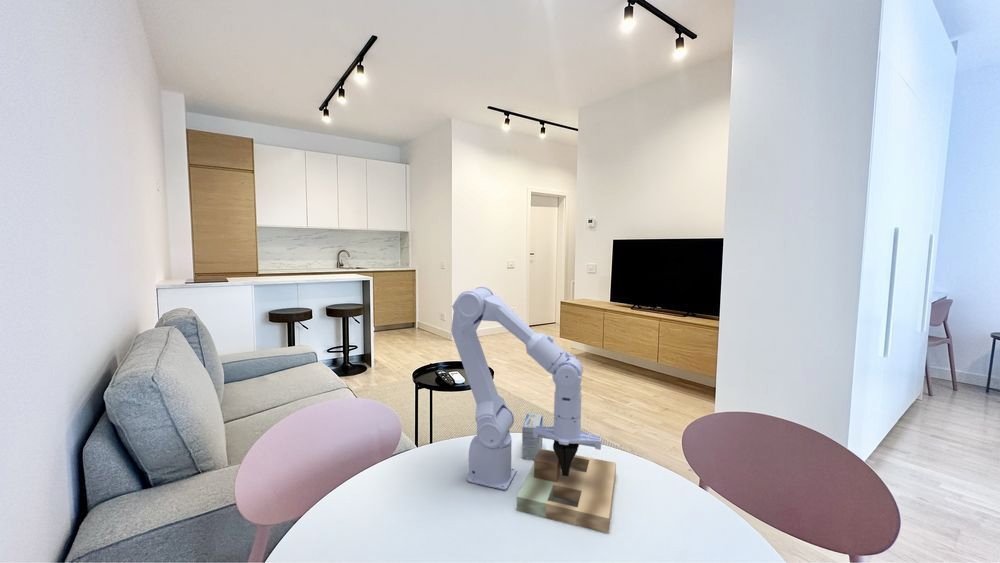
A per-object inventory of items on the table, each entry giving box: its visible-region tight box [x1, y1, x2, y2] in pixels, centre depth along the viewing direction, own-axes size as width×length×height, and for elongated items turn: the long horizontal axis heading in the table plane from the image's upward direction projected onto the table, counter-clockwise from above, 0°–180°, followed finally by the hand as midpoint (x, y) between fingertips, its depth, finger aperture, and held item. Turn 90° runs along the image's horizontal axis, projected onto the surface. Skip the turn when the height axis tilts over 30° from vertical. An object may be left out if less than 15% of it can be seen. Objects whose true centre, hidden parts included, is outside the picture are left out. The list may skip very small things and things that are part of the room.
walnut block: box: [533, 448, 561, 482], centre depth 87 cm, size 5×5×4 cm
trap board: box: [516, 448, 617, 534], centre depth 85 cm, size 18×20×3 cm
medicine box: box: [521, 413, 544, 461], centre depth 101 cm, size 8×4×9 cm, turn 168°
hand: (565, 473), depth 85 cm, fingers closed
